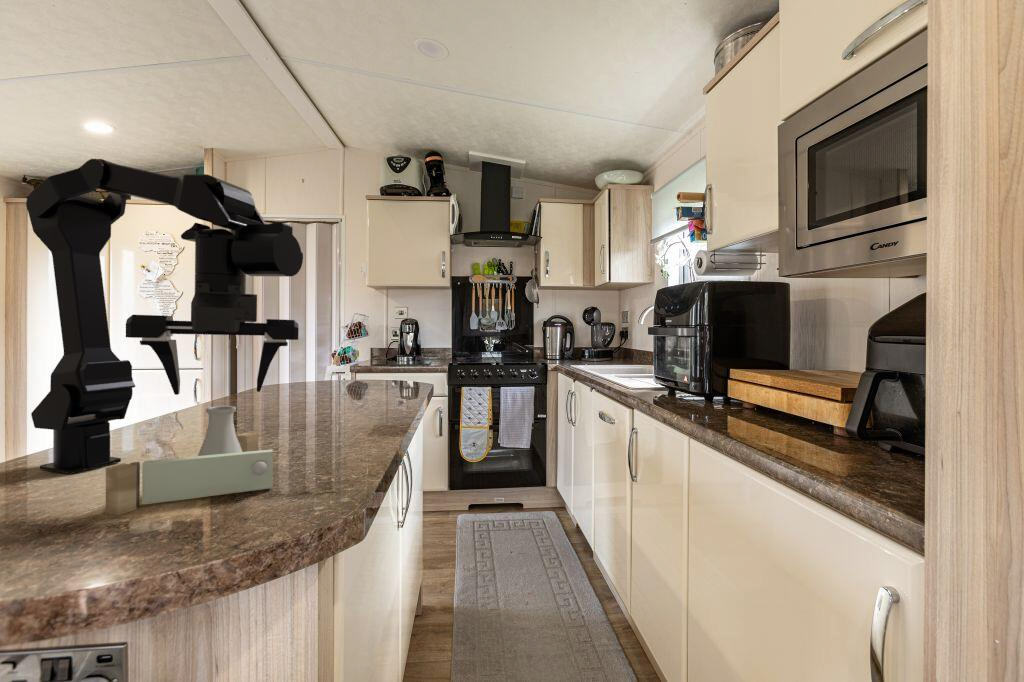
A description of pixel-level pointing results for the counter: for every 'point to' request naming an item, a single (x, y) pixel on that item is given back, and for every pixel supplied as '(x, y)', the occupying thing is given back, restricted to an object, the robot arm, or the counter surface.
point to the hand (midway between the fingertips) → (219, 392)
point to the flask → (220, 432)
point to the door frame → (127, 480)
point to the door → (206, 475)
